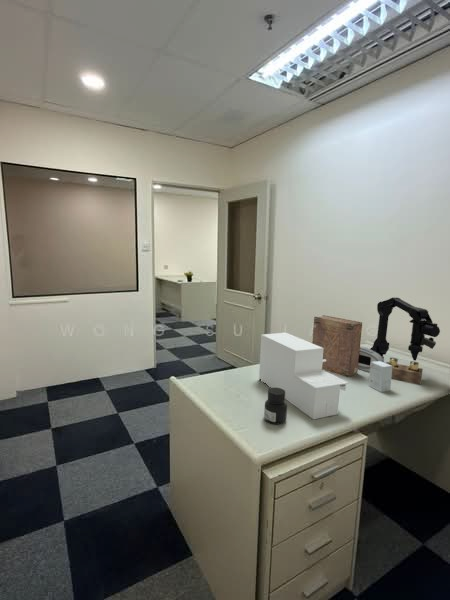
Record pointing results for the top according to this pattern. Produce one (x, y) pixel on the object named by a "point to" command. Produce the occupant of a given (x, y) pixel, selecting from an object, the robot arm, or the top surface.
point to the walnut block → (406, 374)
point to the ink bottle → (275, 406)
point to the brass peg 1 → (393, 362)
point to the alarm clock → (367, 358)
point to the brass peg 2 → (414, 366)
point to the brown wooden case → (338, 343)
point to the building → (299, 374)
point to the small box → (380, 376)
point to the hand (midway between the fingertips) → (414, 360)
